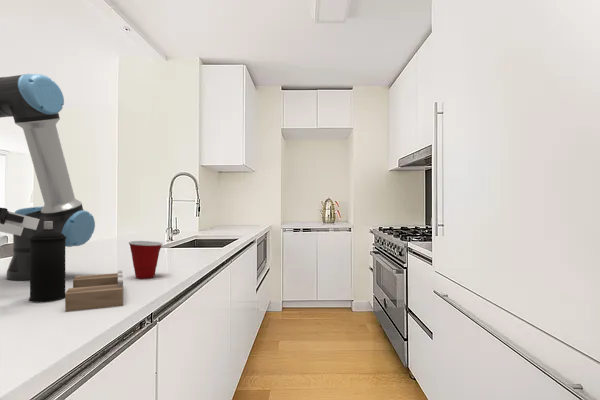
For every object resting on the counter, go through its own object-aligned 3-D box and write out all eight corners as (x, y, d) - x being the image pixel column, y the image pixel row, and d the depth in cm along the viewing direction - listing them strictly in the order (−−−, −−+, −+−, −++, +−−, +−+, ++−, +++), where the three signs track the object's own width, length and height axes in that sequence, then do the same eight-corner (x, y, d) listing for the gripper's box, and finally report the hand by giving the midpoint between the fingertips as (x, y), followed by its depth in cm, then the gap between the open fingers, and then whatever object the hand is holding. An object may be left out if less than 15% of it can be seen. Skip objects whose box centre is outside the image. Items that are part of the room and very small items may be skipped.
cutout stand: (75, 290, 111) (75, 271, 111) (122, 286, 116) (122, 268, 116) (65, 311, 89) (65, 288, 90) (123, 305, 95) (123, 284, 95)
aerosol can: (53, 302, 97) (53, 222, 98) (20, 302, 98) (21, 222, 98) (73, 294, 106) (73, 220, 106) (42, 294, 106) (43, 220, 106)
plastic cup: (161, 279, 127) (162, 242, 127) (125, 281, 124) (125, 243, 124) (164, 273, 137) (164, 239, 137) (130, 275, 134) (130, 240, 134)
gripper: (-92, 225, 93) (11, 246, 108) (-81, 210, 77) (39, 236, 92) (-79, 196, 96) (21, 220, 110) (-65, 175, 80) (49, 206, 94)
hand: (29, 227), depth 101 cm, fingers open, 13 cm apart
